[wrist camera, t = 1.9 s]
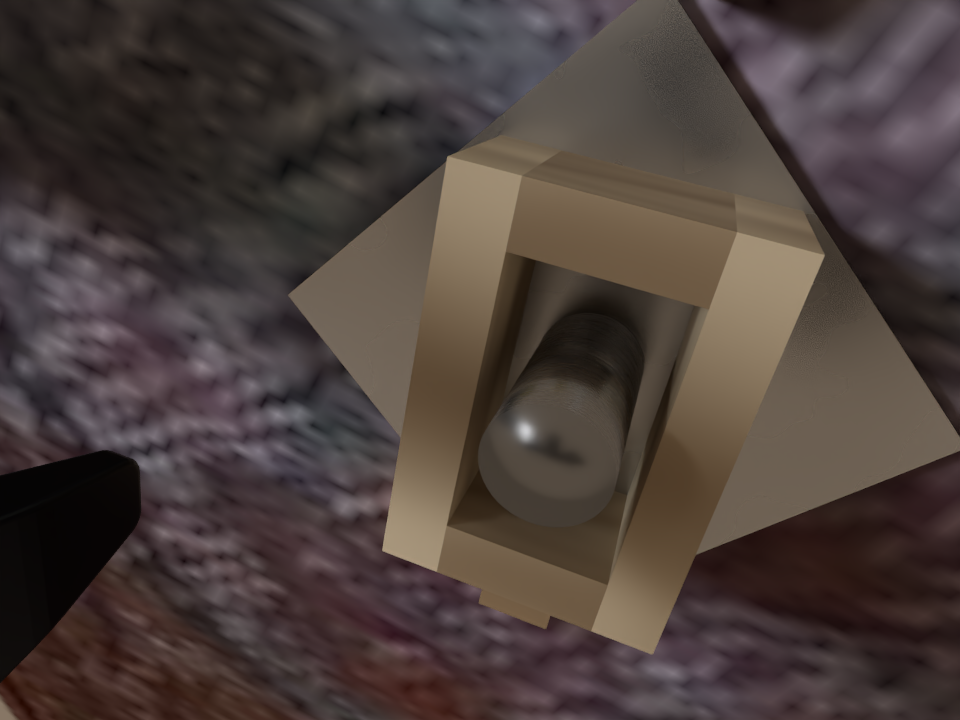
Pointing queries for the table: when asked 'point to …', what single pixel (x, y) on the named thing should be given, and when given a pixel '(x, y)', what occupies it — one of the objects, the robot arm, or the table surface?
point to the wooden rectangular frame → (684, 405)
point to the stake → (640, 310)
